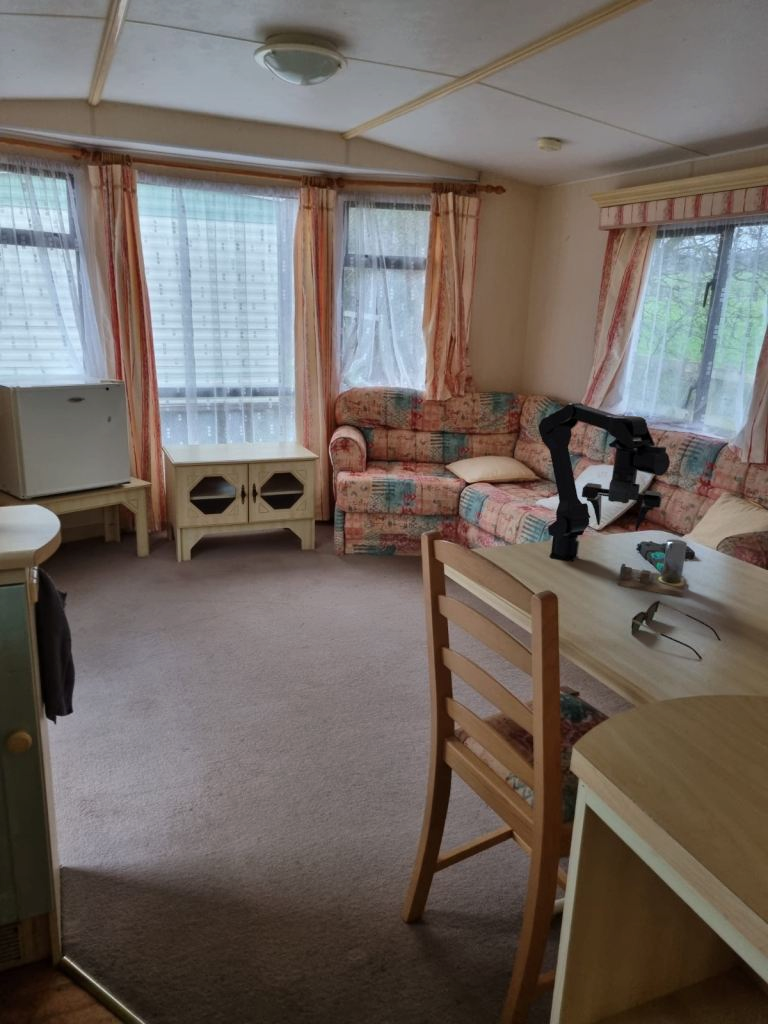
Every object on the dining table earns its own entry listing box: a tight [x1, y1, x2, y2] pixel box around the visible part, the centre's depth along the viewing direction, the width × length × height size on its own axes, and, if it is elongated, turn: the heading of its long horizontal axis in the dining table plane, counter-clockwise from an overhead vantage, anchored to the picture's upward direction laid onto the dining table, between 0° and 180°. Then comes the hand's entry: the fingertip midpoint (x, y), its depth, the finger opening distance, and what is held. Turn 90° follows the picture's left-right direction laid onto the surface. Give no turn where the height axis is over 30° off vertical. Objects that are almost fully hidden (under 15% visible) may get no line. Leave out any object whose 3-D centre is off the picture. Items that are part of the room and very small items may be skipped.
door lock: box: [617, 563, 685, 597], centre depth 179 cm, size 15×11×4 cm
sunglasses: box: [630, 600, 721, 659], centre depth 149 cm, size 14×15×5 cm
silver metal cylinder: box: [661, 539, 688, 584], centre depth 177 cm, size 5×5×10 cm
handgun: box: [635, 540, 696, 574], centre depth 195 cm, size 4×26×15 cm
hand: (617, 527), depth 180 cm, fingers open, 9 cm apart
